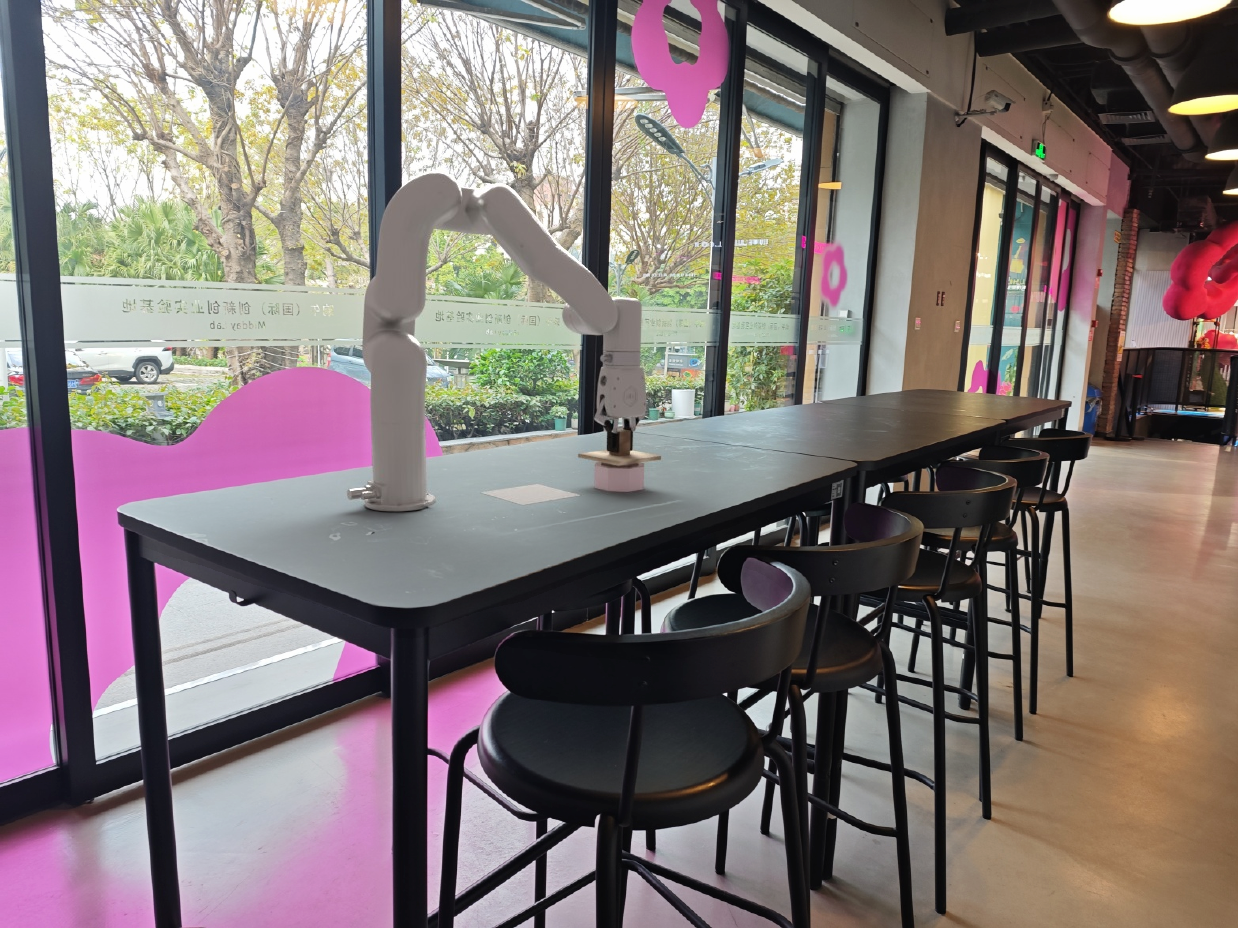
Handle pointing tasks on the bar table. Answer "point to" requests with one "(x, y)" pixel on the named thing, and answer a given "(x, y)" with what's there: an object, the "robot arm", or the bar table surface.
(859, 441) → the bar table surface
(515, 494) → the mat
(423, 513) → the bar table surface
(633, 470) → the bowl
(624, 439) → the lid
